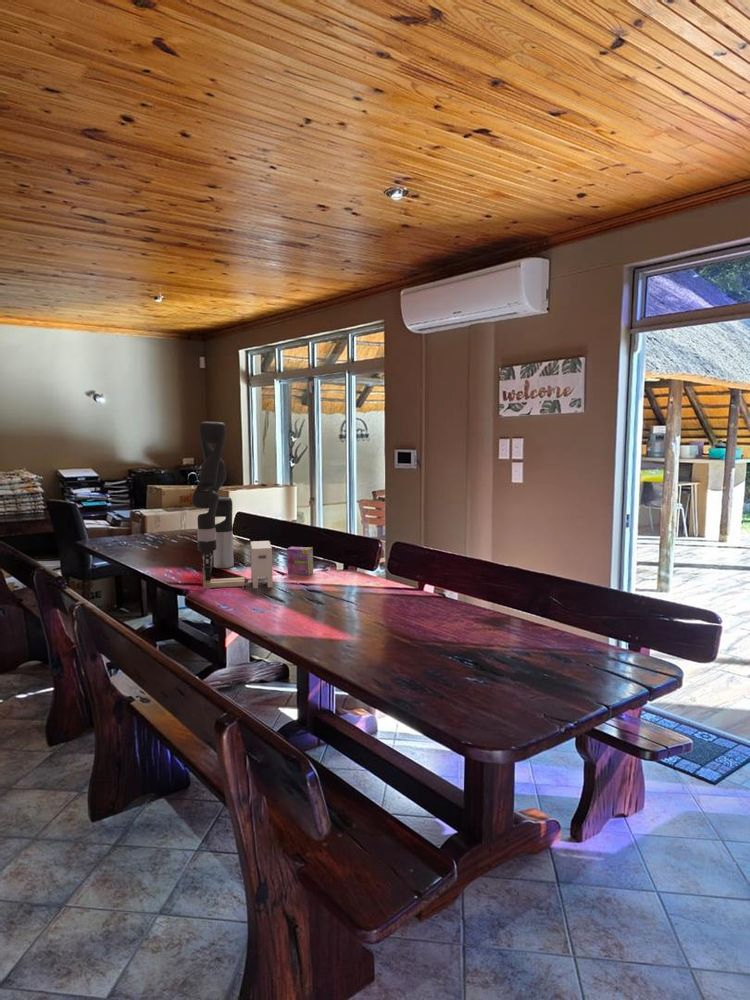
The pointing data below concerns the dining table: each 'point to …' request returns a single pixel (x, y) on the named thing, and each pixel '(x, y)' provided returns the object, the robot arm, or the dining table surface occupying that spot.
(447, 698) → the dining table surface
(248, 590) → the dining table surface
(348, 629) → the dining table surface
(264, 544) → the notched block
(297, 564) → the box
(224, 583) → the stepped wooden block
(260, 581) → the puck
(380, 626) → the dining table surface
